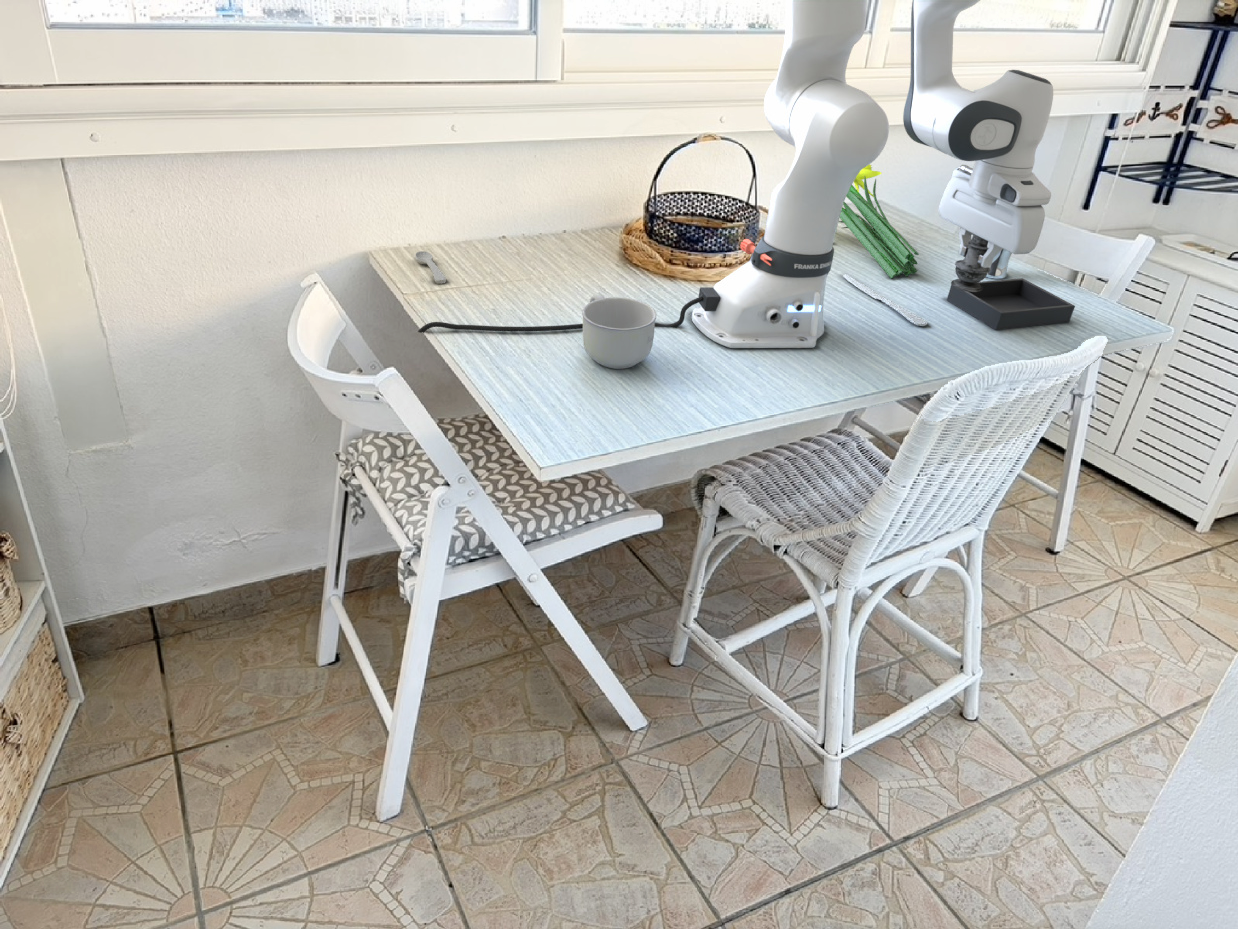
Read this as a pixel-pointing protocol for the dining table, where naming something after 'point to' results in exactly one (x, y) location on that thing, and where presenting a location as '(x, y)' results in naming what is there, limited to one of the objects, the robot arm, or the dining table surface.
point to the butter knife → (887, 302)
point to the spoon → (428, 259)
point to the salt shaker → (971, 266)
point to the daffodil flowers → (877, 229)
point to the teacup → (618, 331)
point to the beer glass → (999, 265)
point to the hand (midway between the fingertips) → (974, 260)
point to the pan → (1012, 304)
